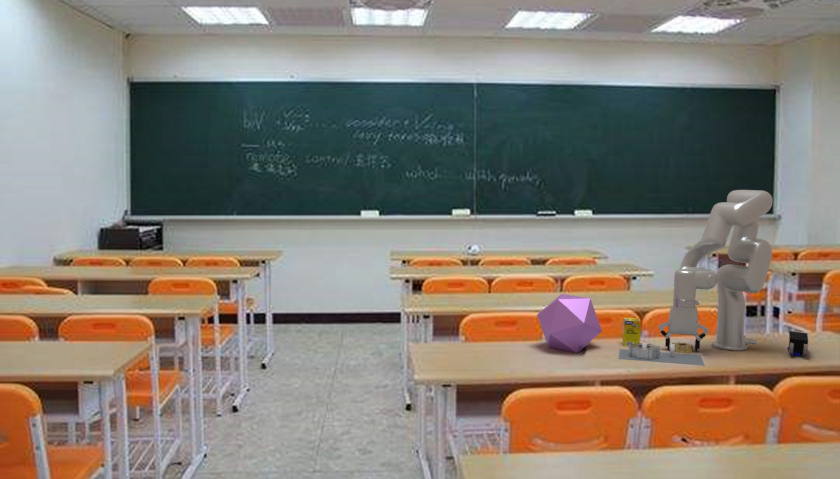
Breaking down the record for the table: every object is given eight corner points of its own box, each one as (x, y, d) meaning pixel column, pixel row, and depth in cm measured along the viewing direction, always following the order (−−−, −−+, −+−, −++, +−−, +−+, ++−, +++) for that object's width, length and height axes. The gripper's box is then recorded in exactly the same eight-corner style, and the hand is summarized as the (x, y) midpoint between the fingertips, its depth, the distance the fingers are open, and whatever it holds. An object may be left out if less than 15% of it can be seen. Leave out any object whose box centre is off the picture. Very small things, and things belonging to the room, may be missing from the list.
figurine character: (808, 364, 259) (806, 350, 272) (810, 343, 257) (808, 330, 271) (787, 362, 262) (786, 348, 275) (788, 341, 260) (787, 329, 274)
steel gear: (658, 353, 261) (659, 344, 260) (659, 360, 251) (660, 350, 250) (628, 351, 264) (629, 342, 263) (628, 358, 254) (628, 348, 253)
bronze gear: (691, 352, 268) (691, 343, 268) (692, 356, 262) (693, 347, 261) (671, 350, 270) (672, 341, 270) (672, 355, 264) (672, 345, 263)
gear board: (700, 358, 259) (701, 342, 259) (704, 369, 245) (705, 352, 245) (619, 352, 267) (620, 337, 267) (618, 362, 253) (619, 346, 252)
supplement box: (640, 350, 271) (641, 321, 270) (623, 349, 272) (624, 320, 271) (638, 346, 277) (639, 318, 276) (622, 345, 278) (623, 317, 277)
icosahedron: (615, 339, 259) (597, 279, 272) (561, 341, 254) (545, 280, 267) (591, 363, 277) (575, 306, 290) (540, 366, 272) (526, 307, 285)
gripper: (708, 303, 265) (706, 349, 267) (658, 300, 270) (657, 345, 272) (710, 306, 258) (708, 354, 260) (659, 303, 263) (657, 350, 265)
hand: (682, 349), depth 266 cm, fingers open, 9 cm apart
